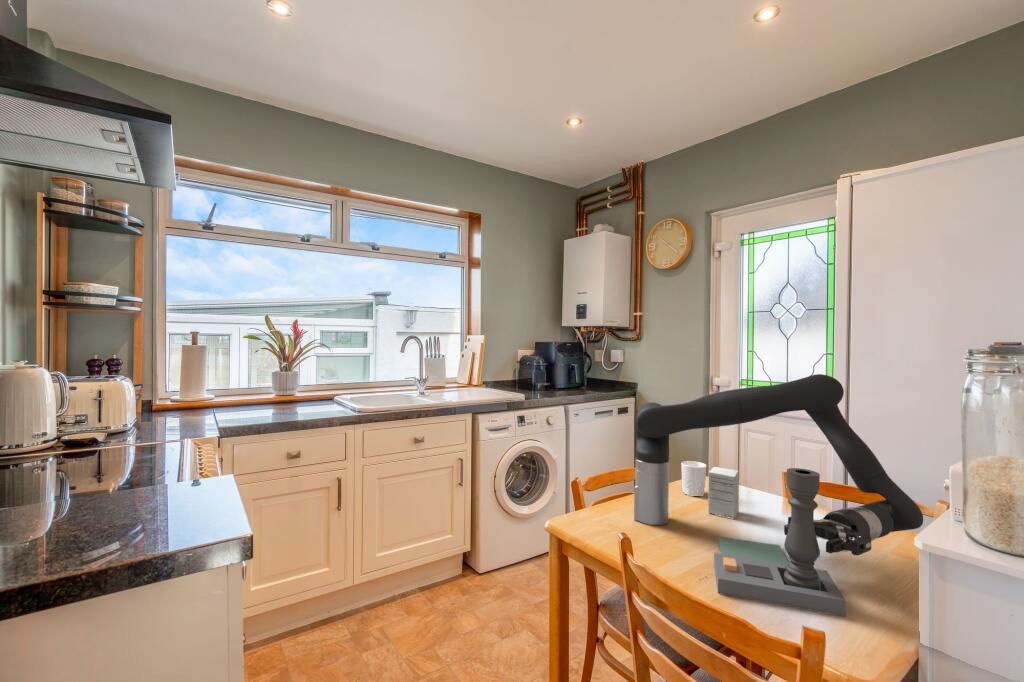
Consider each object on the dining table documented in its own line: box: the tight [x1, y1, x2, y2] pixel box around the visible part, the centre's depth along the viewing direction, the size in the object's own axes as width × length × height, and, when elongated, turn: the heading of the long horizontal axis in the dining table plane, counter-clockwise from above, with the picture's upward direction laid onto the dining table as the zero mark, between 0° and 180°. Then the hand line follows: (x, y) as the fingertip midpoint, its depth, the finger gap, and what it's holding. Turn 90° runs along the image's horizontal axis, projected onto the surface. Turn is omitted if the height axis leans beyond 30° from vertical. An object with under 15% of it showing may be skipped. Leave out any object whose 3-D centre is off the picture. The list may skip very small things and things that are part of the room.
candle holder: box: [783, 467, 821, 591], centre depth 94 cm, size 6×6×25 cm
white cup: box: [680, 460, 707, 497], centre depth 154 cm, size 8×8×10 cm
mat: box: [717, 536, 789, 564], centre depth 110 cm, size 14×12×1 cm
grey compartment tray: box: [713, 552, 847, 618], centre depth 95 cm, size 22×12×4 cm, turn 70°
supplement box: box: [707, 466, 740, 519], centre depth 137 cm, size 7×7×13 cm
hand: (806, 539), depth 94 cm, fingers open, 8 cm apart
